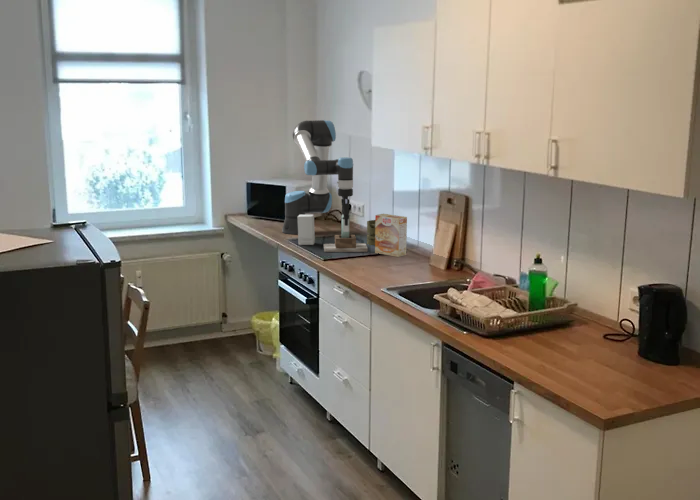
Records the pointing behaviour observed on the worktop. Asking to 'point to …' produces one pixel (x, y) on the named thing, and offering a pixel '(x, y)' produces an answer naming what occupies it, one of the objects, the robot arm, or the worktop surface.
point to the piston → (371, 232)
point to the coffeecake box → (390, 235)
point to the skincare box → (306, 230)
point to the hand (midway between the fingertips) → (345, 229)
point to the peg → (344, 234)
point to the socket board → (358, 248)
